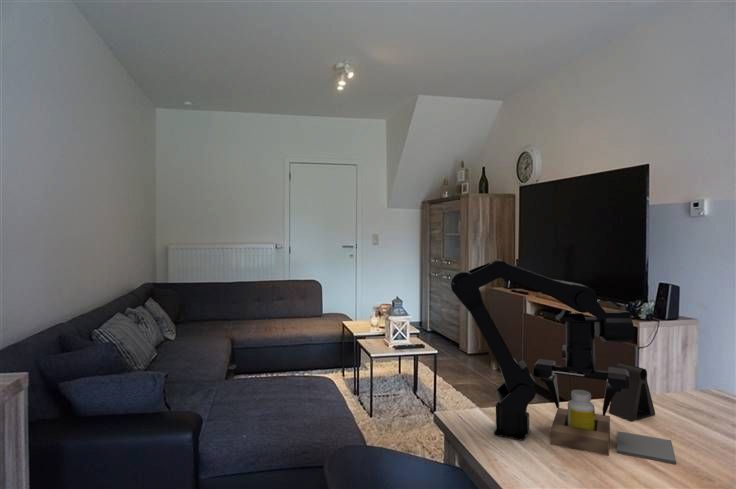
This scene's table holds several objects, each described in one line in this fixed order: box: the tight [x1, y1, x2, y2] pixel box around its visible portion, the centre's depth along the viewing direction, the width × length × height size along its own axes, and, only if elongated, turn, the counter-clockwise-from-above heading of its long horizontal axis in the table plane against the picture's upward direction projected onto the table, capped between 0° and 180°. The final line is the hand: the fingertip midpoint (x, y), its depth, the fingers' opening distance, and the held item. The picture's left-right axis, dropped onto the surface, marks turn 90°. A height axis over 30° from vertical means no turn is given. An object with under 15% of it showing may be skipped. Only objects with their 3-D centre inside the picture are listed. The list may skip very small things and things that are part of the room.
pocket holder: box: [549, 407, 611, 456], centre depth 100 cm, size 11×14×3 cm
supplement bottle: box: [567, 389, 596, 431], centre depth 99 cm, size 5×5×10 cm
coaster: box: [616, 430, 677, 465], centre depth 94 cm, size 10×10×1 cm
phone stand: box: [608, 362, 656, 423], centre depth 111 cm, size 9×6×12 cm, turn 115°
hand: (580, 411), depth 100 cm, fingers open, 9 cm apart
